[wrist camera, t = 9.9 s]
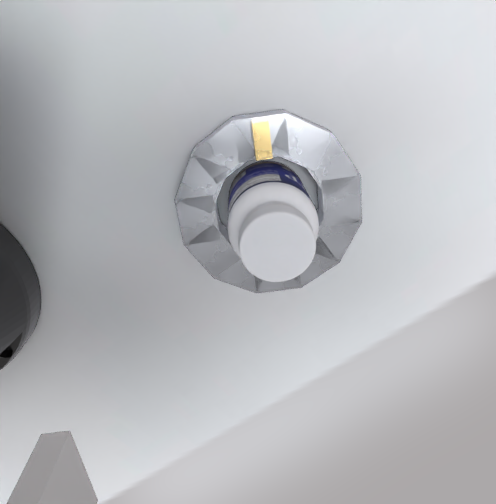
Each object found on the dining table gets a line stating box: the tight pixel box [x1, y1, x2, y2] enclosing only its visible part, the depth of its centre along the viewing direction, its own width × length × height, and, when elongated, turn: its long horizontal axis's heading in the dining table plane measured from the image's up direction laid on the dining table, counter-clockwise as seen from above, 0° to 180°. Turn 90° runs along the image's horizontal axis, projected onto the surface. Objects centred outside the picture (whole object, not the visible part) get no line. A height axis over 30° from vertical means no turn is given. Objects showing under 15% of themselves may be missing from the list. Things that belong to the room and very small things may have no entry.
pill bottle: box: [227, 161, 319, 282], centre depth 26 cm, size 5×5×9 cm
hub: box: [175, 109, 362, 293], centre depth 29 cm, size 12×12×3 cm
